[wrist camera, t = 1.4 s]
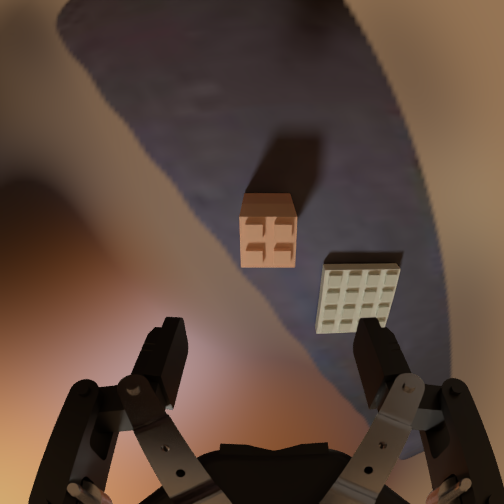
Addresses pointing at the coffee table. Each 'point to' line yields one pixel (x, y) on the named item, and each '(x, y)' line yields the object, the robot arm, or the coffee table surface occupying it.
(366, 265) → the stud plate
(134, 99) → the coffee table surface
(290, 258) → the brick stack
